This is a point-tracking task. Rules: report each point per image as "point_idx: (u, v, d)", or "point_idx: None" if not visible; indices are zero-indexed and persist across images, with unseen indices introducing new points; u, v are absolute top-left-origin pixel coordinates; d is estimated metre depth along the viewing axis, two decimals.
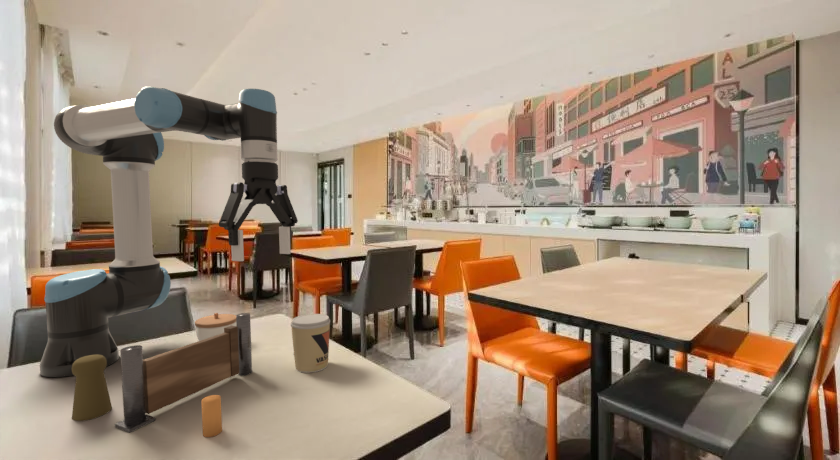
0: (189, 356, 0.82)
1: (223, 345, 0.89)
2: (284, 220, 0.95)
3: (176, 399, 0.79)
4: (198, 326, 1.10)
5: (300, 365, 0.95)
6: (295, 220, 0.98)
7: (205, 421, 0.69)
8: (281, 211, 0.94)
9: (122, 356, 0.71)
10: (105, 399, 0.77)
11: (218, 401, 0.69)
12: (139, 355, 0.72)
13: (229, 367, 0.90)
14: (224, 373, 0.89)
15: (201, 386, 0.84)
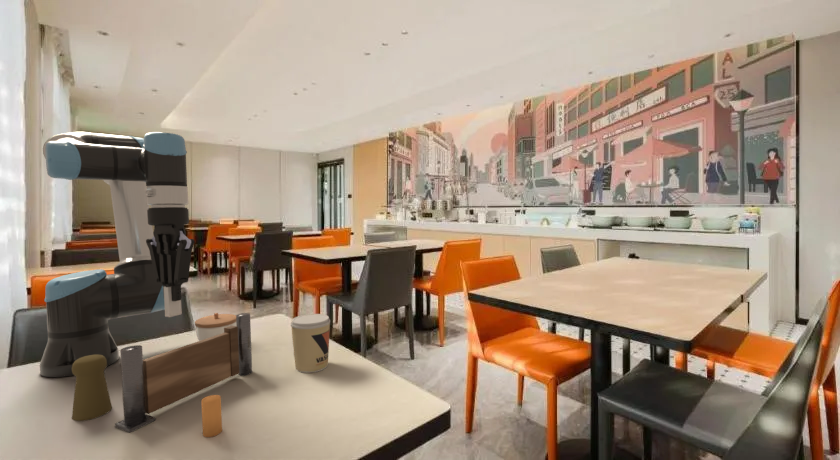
0: (189, 356, 0.82)
1: (223, 345, 0.89)
2: None
3: (176, 399, 0.79)
4: (198, 326, 1.10)
5: (300, 365, 0.95)
6: (174, 280, 0.84)
7: (205, 421, 0.69)
8: (168, 264, 0.85)
9: (122, 356, 0.71)
10: (105, 399, 0.77)
11: (218, 401, 0.69)
12: (139, 355, 0.72)
13: (229, 367, 0.90)
14: (224, 373, 0.89)
15: (201, 386, 0.84)
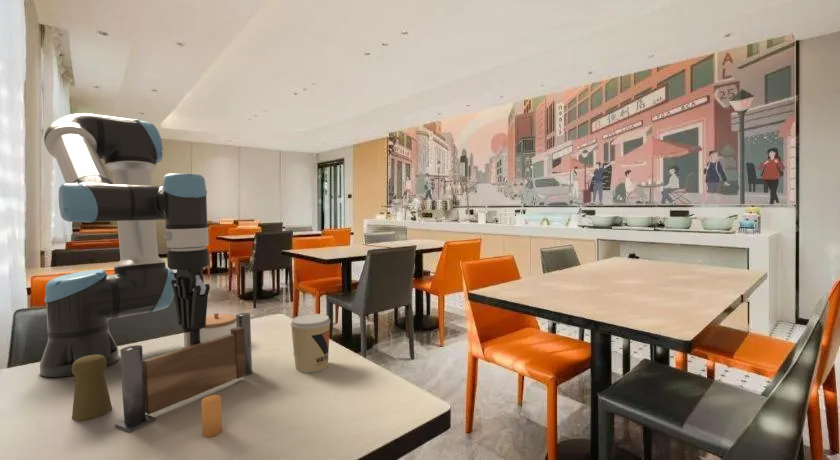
0: (192, 357, 0.81)
1: (228, 346, 0.88)
2: None
3: (178, 400, 0.79)
4: None
5: (300, 365, 0.95)
6: (191, 326, 0.81)
7: (205, 421, 0.69)
8: (186, 308, 0.82)
9: (122, 356, 0.71)
10: (105, 399, 0.77)
11: (218, 401, 0.69)
12: (139, 355, 0.72)
13: (235, 369, 0.89)
14: (230, 375, 0.88)
15: (205, 387, 0.84)
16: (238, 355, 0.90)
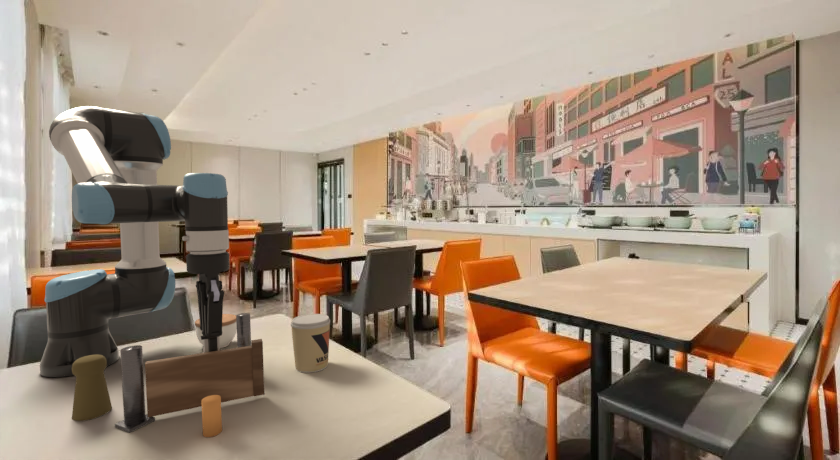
0: (197, 366, 0.77)
1: (243, 360, 0.80)
2: None
3: (181, 408, 0.76)
4: (198, 326, 1.10)
5: (300, 365, 0.95)
6: (207, 333, 0.77)
7: (205, 421, 0.69)
8: (204, 314, 0.79)
9: (122, 356, 0.71)
10: (105, 399, 0.77)
11: (218, 401, 0.69)
12: (139, 355, 0.72)
13: (251, 385, 0.81)
14: (244, 391, 0.81)
15: None
16: (254, 371, 0.81)
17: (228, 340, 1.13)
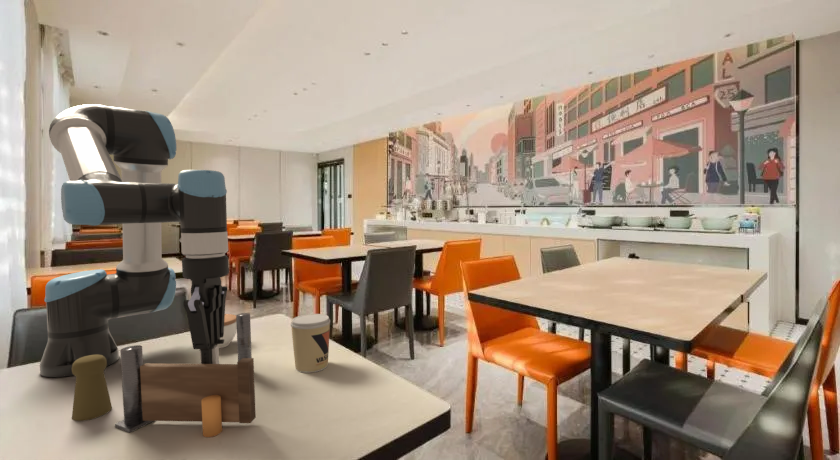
0: (185, 377, 0.71)
1: (229, 379, 0.71)
2: None
3: (171, 419, 0.72)
4: None
5: (300, 365, 0.95)
6: None
7: (205, 421, 0.69)
8: None
9: (122, 356, 0.71)
10: (105, 399, 0.77)
11: (218, 401, 0.69)
12: (139, 355, 0.72)
13: (238, 410, 0.71)
14: (231, 415, 0.71)
15: (200, 417, 0.72)
16: (240, 394, 0.71)
17: (228, 340, 1.13)
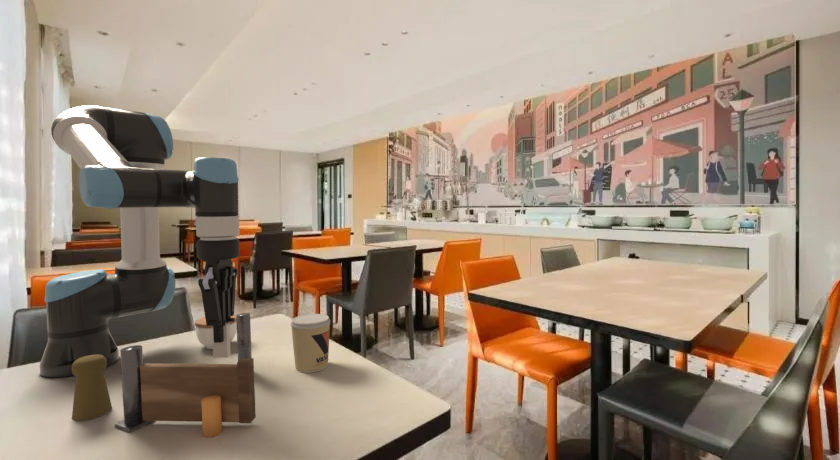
0: (185, 377, 0.71)
1: (229, 379, 0.71)
2: None
3: (171, 419, 0.72)
4: (198, 326, 1.10)
5: (300, 365, 0.95)
6: None
7: (205, 421, 0.69)
8: None
9: (122, 356, 0.71)
10: (105, 399, 0.77)
11: (218, 401, 0.69)
12: (139, 355, 0.72)
13: (237, 410, 0.71)
14: (231, 415, 0.71)
15: (200, 417, 0.72)
16: (240, 394, 0.71)
17: None
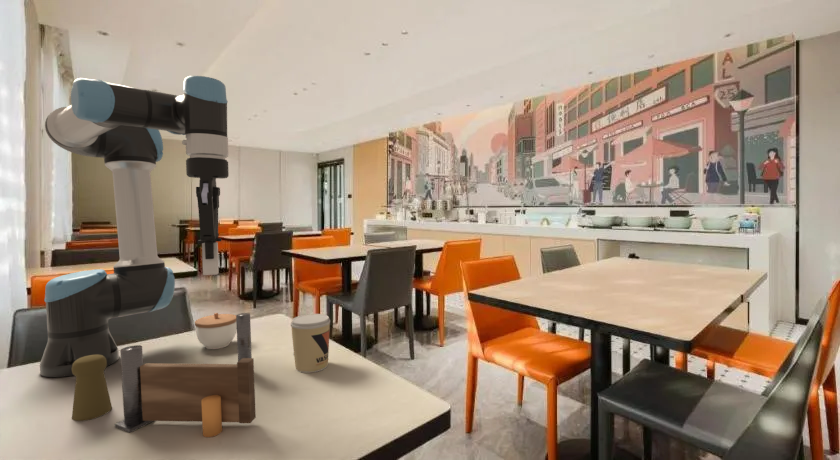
0: (185, 377, 0.71)
1: (229, 379, 0.71)
2: None
3: (171, 419, 0.72)
4: (198, 326, 1.10)
5: (300, 365, 0.95)
6: None
7: (205, 421, 0.69)
8: None
9: (122, 356, 0.71)
10: (105, 399, 0.77)
11: (218, 401, 0.69)
12: (139, 355, 0.72)
13: (237, 410, 0.71)
14: (231, 415, 0.71)
15: (200, 417, 0.72)
16: (240, 394, 0.71)
17: (228, 340, 1.13)
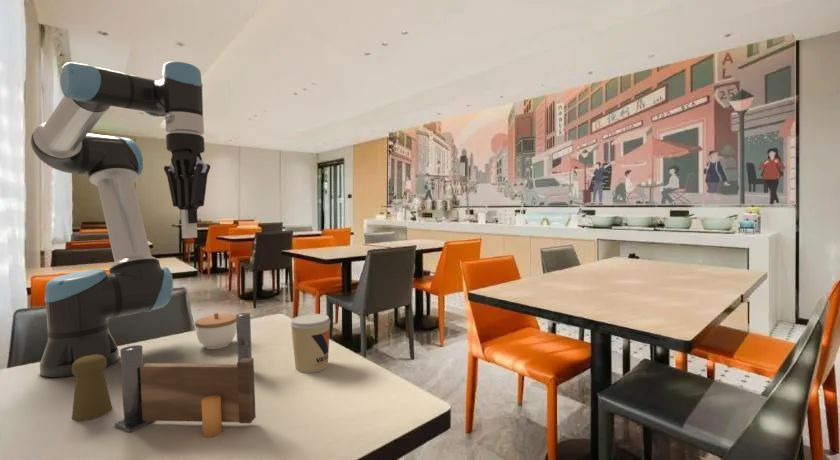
0: (185, 377, 0.71)
1: (229, 379, 0.71)
2: None
3: (171, 419, 0.72)
4: (198, 326, 1.10)
5: (300, 365, 0.95)
6: (191, 202, 0.90)
7: (205, 421, 0.69)
8: (185, 188, 0.91)
9: (122, 356, 0.71)
10: (105, 399, 0.77)
11: (218, 401, 0.69)
12: (139, 355, 0.72)
13: (237, 410, 0.71)
14: (231, 415, 0.71)
15: (200, 417, 0.72)
16: (240, 394, 0.71)
17: (228, 340, 1.13)
